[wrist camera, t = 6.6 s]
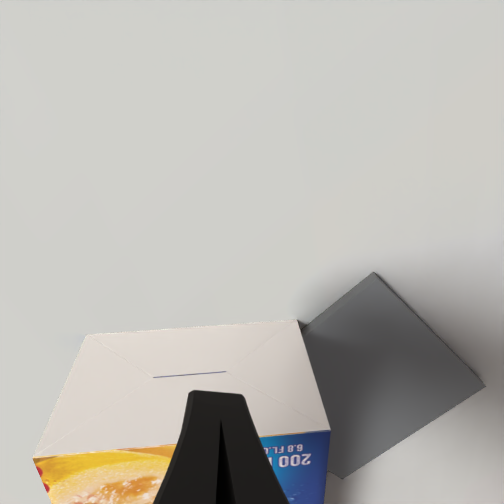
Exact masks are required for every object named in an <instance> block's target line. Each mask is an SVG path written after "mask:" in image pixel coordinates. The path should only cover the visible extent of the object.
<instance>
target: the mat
mask: <svg viewBox="0 0 504 504" xmlns="http://www.w3.org/2000/svg"><path fill="white" fill-rule="evenodd" d="M301 335H302V338H303V341H304V344H305V348H306V351H307V354H308V357H309V361H310V364H311V367H312V370H313V374H314V377H315V380H316V384H317V387H318V390H319V393H320V397H321V400H322V403H323V406H324V410H325V413H326V416H327V419H328V423H329V426H330V429H331V434H330V444H329V454H328V464H327V470H328V471H330V472H331V473H333V474H335V475H336V476H338V477H339V478H341V479H344V478H345V477H347V476H348V475H350V474H351V473H353V472H354V471H356V470H357V469H359V468H361V467H362V466H364V465H365V464H367V463H368V462H370V461H371V460H373V459H374V458H376V457H378V456H379V455H381V454H382V453H384V452H385V451H387V450H388V449H390V448H391V447H393V446H395V445H396V444H398V443H399V442H401V441H402V440H404V439H405V438H407V437H408V436H410V435H412V434H413V433H415V432H416V431H418V430H419V429H421V428H422V427H424V426H425V425H427V424H428V423H430V422H432V421H433V420H435V419H436V418H438V417H439V416H441V415H442V414H444V413H445V412H447V411H449V410H450V409H452V408H453V407H455V406H456V405H458V404H459V403H461V402H462V401H464V400H466V399H467V398H469V397H470V396H472V395H473V394H475V393H476V392H478V391H479V390H481V389H483V388H484V387H486V386H485V384H484V383H483V382H482V381H481V379H480V378H479V377H478V376H477V375H476V374H475V373H474V372H473V371H472V370H471V369H470V368H469V367H468V366H467V365H466V364H465V363H464V362H463V361H462V360H461V359H460V358H459V357H458V356H457V355H456V354H455V353H454V352H453V351H452V350H451V349H450V348H449V347H448V346H447V345H446V344H445V343H444V342H443V341H442V340H441V339H440V338H439V337H438V336H437V335H436V334H435V333H434V332H433V331H432V330H431V329H430V328H429V327H428V326H427V325H426V324H425V323H424V322H423V321H422V320H421V319H420V318H419V317H418V316H417V315H416V314H415V313H414V312H413V311H412V310H411V309H410V308H409V307H408V306H407V305H406V304H405V303H404V302H403V301H402V300H401V299H400V298H399V297H398V296H397V295H396V294H395V293H394V292H393V291H392V290H391V289H390V288H389V287H388V286H387V285H386V284H385V283H384V282H383V281H382V280H381V279H380V278H379V277H378V276H377V275H376V274H375V273H374V272H373V273H371V274H370V275H369V276H368V277H366V278H365V279H364V280H363V281H361V282H360V283H359V284H358V285H356V286H355V287H354V288H353V289H352V290H350V291H349V292H348V293H347V294H345V295H344V296H343V297H342V298H340V299H339V300H338V301H337V302H335V303H334V304H333V305H332V306H330V307H329V308H328V309H327V310H326V311H324V312H323V313H322V314H321V315H319V316H318V317H317V318H316V319H314V320H313V321H312V322H311V323H309V324H308V325H307V326H306V327H304V328H303V329H302V330H301Z"/></svg>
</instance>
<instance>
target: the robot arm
mask: <svg viewBox="0 0 504 504" xmlns="http://www.w3.org/2000/svg"><path fill="white" fill-rule="evenodd" d="M153 504H290V503H289V501H288V499H287V497H286V495H285V493H284V491H283V489H282V487H281V485H280V483H279V481H278V479H277V477H276V474H275V472H274V470H273V468H272V466H271V464H270V461H269V459H268V457H267V455H266V452H265V450H264V448H263V445H262V443H261V441H260V438H259V436H258V433H257V431H256V428H255V425H254V423H253V420H252V417H251V415H250V412H249V409H248V406H247V403H246V399H245V397H244V396H243V395H242V394H236V393H225V392H213V391H202V390H193V391H191V392H189V393H188V398H187V403H186V408H185V413H184V418H183V424H182V429H181V433H180V436H179V439H178V442H177V445H176V447H175V450H174V453H173V456H172V458H171V461H170V464H169V466H168V469H167V472H166V474H165V476H164V479H163V481H162V483H161V486H160V488H159V490H158V492H157V495H156V497H155V499H154V502H153Z"/></svg>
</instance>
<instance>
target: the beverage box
mask: <svg viewBox="0 0 504 504" xmlns="http://www.w3.org/2000/svg"><path fill="white" fill-rule="evenodd" d="M193 390H202V391H213V392H225V393H236V394H242V395H243V396H244V397H245V399H246V403H247V406H248V409H249V412H250V415H251V417H252V420H253V423H254V425H255V428H256V431H257V433H258V436H259V438H260V441H261V443H262V445H263V448H264V450H265V452H266V455H267V457H268V459H269V461H270V464H271V466H272V468H273V470H274V472H275V474H276V477H277V479H278V481H279V483H280V485H281V487H282V489H283V491H284V493H285V495H286V497H287V499H288V501H289V503H290V504H324V494H325V484H326V474H327V464H328V454H329V444H330V434H331V429H330V426H329V423H328V419H327V416H326V413H325V410H324V406H323V403H322V400H321V397H320V393H319V390H318V387H317V384H316V380H315V377H314V374H313V370H312V367H311V364H310V361H309V357H308V354H307V351H306V348H305V344H304V341H303V338H302V335H301V331H300V328H299V325H298V322H297V320H283V321H270V322H256V323H242V324H228V325H214V326H200V327H186V328H172V329H158V330H144V331H131V332H117V333H103V334H89V335H86V336H85V339H84V341H83V343H82V346H81V348H80V350H79V352H78V355H77V357H76V359H75V362H74V364H73V366H72V368H71V371H70V373H69V375H68V378H67V380H66V382H65V384H64V387H63V389H62V391H61V394H60V396H59V398H58V400H57V403H56V405H55V407H54V409H53V412H52V414H51V416H50V419H49V421H48V423H47V425H46V428H45V430H44V432H43V435H42V437H41V439H40V441H39V444H38V446H37V448H36V451H35V453H34V455H33V461H34V463H35V465H36V468H37V470H38V472H39V475H40V477H41V479H42V482H43V484H44V486H45V489H46V491H47V493H48V496H49V498H50V500H51V503H52V504H153V502H154V499H155V497H156V495H157V492H158V490H159V488H160V486H161V483H162V481H163V479H164V476H165V474H166V472H167V469H168V466H169V464H170V461H171V458H172V456H173V453H174V450H175V447H176V445H177V442H178V439H179V436H180V433H181V429H182V424H183V418H184V413H185V408H186V403H187V398H188V393H189V392H191V391H193Z"/></svg>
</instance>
